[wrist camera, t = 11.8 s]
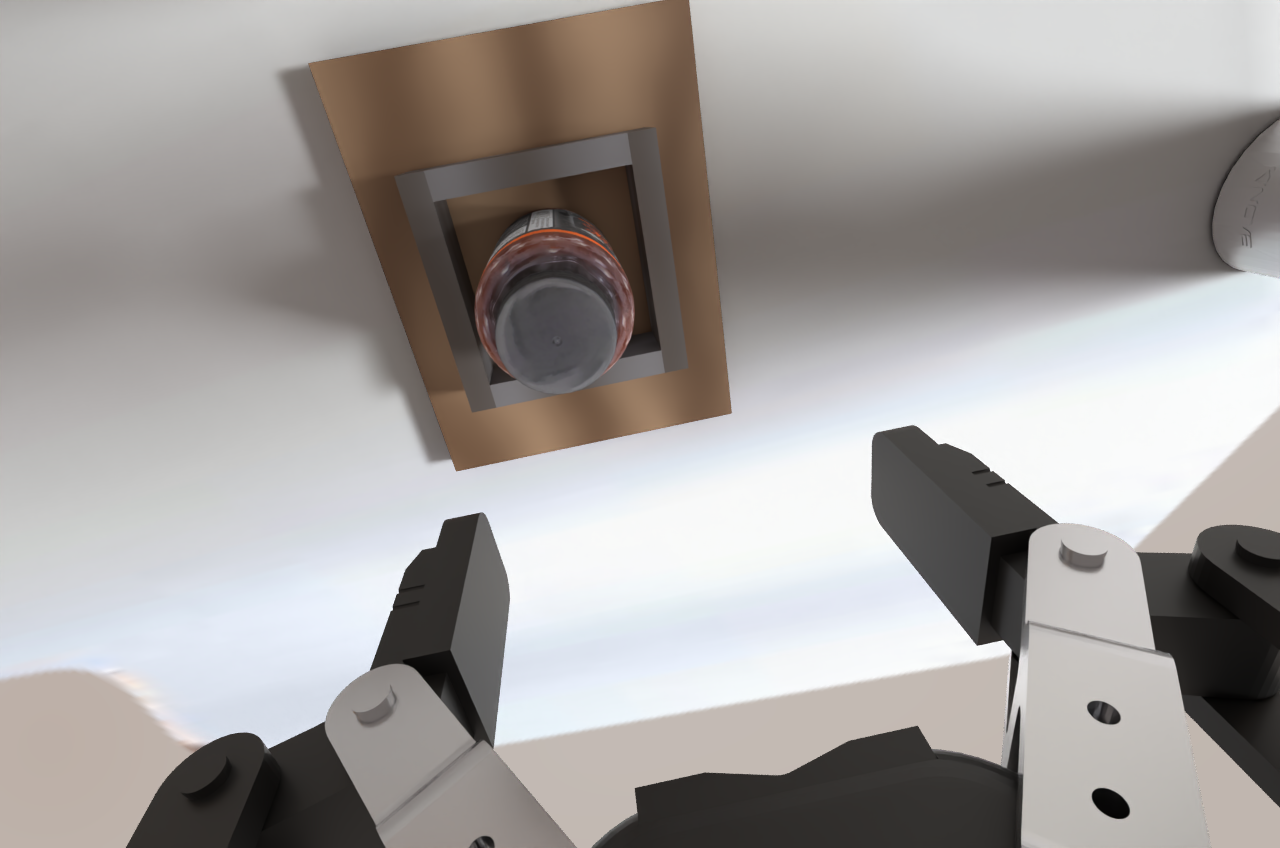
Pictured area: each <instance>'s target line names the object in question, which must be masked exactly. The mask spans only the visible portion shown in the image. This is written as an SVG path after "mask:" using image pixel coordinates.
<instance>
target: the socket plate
mask: <svg viewBox="0 0 1280 848" xmlns="http://www.w3.org/2000/svg"><path fill="white" fill-rule="evenodd" d="M308 64H309V67H310V69H311V72H312V75H313V78H314V80H315V83H316V86H317V89H318V91H319V94H320V97H321V100H322V102H323V105H324V108H325V111H326V113H327V116H328V119H329V122H330V125H331V127H332V130H333V133H334V136H335V138H336V141H337V144H338V147H339V149H340V152H341V155H342V158H343V160H344V163H345V166H346V169H347V171H348V174H349V177H350V180H351V182H352V185H353V188H354V191H355V194H356V196H357V199H358V202H359V205H360V207H361V210H362V213H363V216H364V218H365V221H366V224H367V227H368V229H369V232H370V235H371V238H372V240H373V243H374V246H375V249H376V251H377V254H378V257H379V260H380V263H381V265H382V268H383V271H384V274H385V276H386V279H387V282H388V285H389V287H390V290H391V293H392V296H393V298H394V301H395V304H396V307H397V309H398V312H399V315H400V318H401V320H402V323H403V326H404V329H405V332H406V334H407V337H408V340H409V343H410V345H411V348H412V351H413V354H414V356H415V359H416V362H417V365H418V367H419V370H420V373H421V376H422V378H423V381H424V384H425V387H426V389H427V392H428V395H429V398H430V401H431V403H432V406H433V409H434V412H435V414H436V417H437V420H438V423H439V425H440V428H441V431H442V434H443V436H444V439H445V442H446V445H447V447H448V450H449V453H450V456H451V458H452V461H453V464H454V467H455V470H456V471H461V470H465V469H470V468H475V467H480V466H484V465H489V464H494V463H499V462H503V461H508V460H513V459H518V458H522V457H527V456H532V455H537V454H541V453H546V452H551V451H556V450H560V449H565V448H570V447H575V446H579V445H584V444H589V443H594V442H598V441H603V440H608V439H613V438H617V437H622V436H627V435H632V434H636V433H641V432H646V431H651V430H655V429H660V428H665V427H670V426H674V425H679V424H684V423H688V422H693V421H698V420H703V419H707V418H712V417H717V416H722V415H726V414H731V413H732V411H731V402H730V392H729V382H728V373H727V363H726V353H725V344H724V334H723V324H722V315H721V305H720V295H719V286H718V276H717V266H716V257H715V247H714V237H713V228H712V218H711V209H710V199H709V189H708V180H707V170H706V160H705V151H704V141H703V131H702V122H701V112H700V102H699V93H698V83H697V73H696V64H695V54H694V44H693V35H692V25H691V15H690V6H689V0H663V1H657V2H652V3H646V4H640V5H635V6H629V7H623V8H618V9H612V10H607V11H601V12H595V13H590V14H584V15H578V16H573V17H567V18H561V19H556V20H550V21H544V22H539V23H533V24H528V25H522V26H516V27H511V28H505V29H499V30H494V31H488V32H482V33H477V34H471V35H466V36H460V37H454V38H449V39H443V40H437V41H432V42H426V43H420V44H415V45H409V46H403V47H398V48H392V49H387V50H381V51H375V52H370V53H364V54H358V55H353V56H347V57H341V58H336V59H330V60H324V61H319V62H313V63H308ZM545 208H559V209H566V210H569V211H571V212H574V213H577V214H579V215H581V216H582V217H584V218H586V219H587V220H588V221H590V222H591V223H593V224H594V225H595V226H596V227H597V228H598V229H599V230H600V231H601V232H602V233H603V235H604V236H605V237H606V239H607V240H608V241H609V243H610V246H611V248H612V250H613V252H614V254H615V256H616V257H617V259H618V261H619V263H620V264H621V266H622V268H623V270H624V272H625V274H626V276H627V278H628V281H629V284H630V287H631V290H632V294H633V298H634V307H635V308H634V309H635V316H634V327H633V332H632V335H631V338H630V341H629V343H628V345H627V347H626V349H625V351H624V352H623V354H622V356H621V357H620V358H619V360H618V361H617V362H616V363H615V364H614V365H613V366H612V368H611V369H609V370H608V371H607V372H606V373H605V374H603V375H602V376H601V377H599V378H598V379H597V380H596V381H594V382H593V383H592V384H590V385H589V386H587V387H585V388H583V389H581V390H578V391H575V392H571V393H565V394H547V393H543V392H539V391H536V390H533V389H531V388H528V387H526V386H525V385H523V384H522V383H520V382H519V381H518V380H516V379H515V378H513V377H511V376H510V375H509V374H507V373H506V372H505V371H503V370H502V369H501V368H500V367H499V366H498V365H497V364H496V363H495V362H494V361H493V359H492V358H491V357H490V355H489V354H488V352H487V351H486V349H485V348H484V346H483V344H482V342H481V339H480V337H479V334H478V331H477V326H476V321H475V311H474V309H475V297H476V291H477V288H478V284H479V282H480V279H481V277H482V274H483V271H484V269H485V267H486V266H487V263H488V261H489V259H490V257H491V255H492V253H493V251H494V248H495V246H496V244H497V242H498V240H499V239H500V237H501V236H502V234H503V233H504V231H505V230H506V229H507V228H508V227H509V226H510V225H511V224H512V223H513V222H514V221H515V220H517V219H518V218H519V217H521V216H523V215H525V214H527V213H529V212H531V211H536V210H539V209H545Z"/></svg>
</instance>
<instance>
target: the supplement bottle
mask: <svg viewBox="0 0 1280 848" xmlns="http://www.w3.org/2000/svg"><path fill="white" fill-rule="evenodd" d="M634 308H635V307H634V298H633V294H632V290H631V287H630V284H629V281H628V278H627V276H626V274H625V272H624V270H623V268H622V266H621V264H620V263H619V261H618V259H617V257H616V256H615V254H614V252H613V250H612V248H611V246H610V243H609V241H608V240H607V239H606V237H605V236H604V235H603V233H602V232H601V231H600V230H599V229H598V228H597V227H596V226H595V225H594V224H593V223H591V222H590V221H588V220H587V219H586V218H584V217H582V216H581V215H579V214H577V213H574V212H571V211H569V210H566V209H559V208H545V209H539V210H536V211H531V212H529V213H527V214H525V215H523V216H521V217H519V218H518V219H517V220H515V221H514V222H513V223H512V224H511V225H510V226H509V227H508V228H507V229H506V230H505V231H504V233H503V234H502V236H501V237H500V239H499V240H498V242H497V244H496V246H495V248H494V251H493V253H492V255H491V257H490V259H489V261H488V263H487V266H486V267H485V269H484V271H483V274H482V277H481V279H480V282H479V284H478V288H477V291H476V297H475V309H474V311H475V321H476V326H477V331H478V334H479V337H480V339H481V342H482V344H483V346H484V348H485V349H486V351H487V352H488V354H489V355H490V357H491V358H492V359H493V361H494V362H495V363H496V364H497V365H498V366H499V367H500V368H501V369H502V370H503V371H505V372H506V373H507V374H509V375H510V376H511V377H513V378H515V379H516V380H518V381H519V382H520V383H522V384H523V385H525V386H526V387H528V388H531V389H533V390H536V391H539V392H543V393H547V394H565V393H571V392H575V391H578V390H581V389H583V388H585V387H587V386H589V385H590V384H592V383H593V382H594V381H596V380H597V379H598V378H599V377H601V376H602V375H603V374H605V373H606V372H607V371H608V370H609V369H611V368H612V366H613V365H614V364H615V363H616V362H617V361H618V360H619V358H620V357H621V356H622V354H623V352H624V351H625V349H626V347H627V345H628V343H629V341H630V338H631V335H632V332H633V327H634V316H635V309H634Z"/></svg>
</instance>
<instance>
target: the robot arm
mask: <svg viewBox="0 0 1280 848" xmlns="http://www.w3.org/2000/svg"><path fill="white" fill-rule="evenodd" d="M1212 228H1213V241H1214V244H1215V247H1216V251H1217V252H1218V254H1219V255H1220V257H1221V258H1222V260H1223V261H1224V262H1226V263H1227V264H1228V265H1230V266H1231V267H1233V268H1236V269H1239V270H1243V271H1246V272H1251V273H1256V274H1261V275H1265V276H1270V277H1275V278H1280V119H1279V120H1277V121H1276V122H1275V123H1273V124H1272V125H1271V126H1270V127H1269V128H1267V129H1266V130H1265V131H1264V132H1263V133H1261V134H1260V135H1259V136H1258V137H1257V138H1256V139H1255V140H1254V142H1253V143H1252V144H1251V145H1250V146H1249V147H1248V148H1247V149H1246V150H1245V151H1244V153H1243V154H1242V156H1241V157H1240V158H1239V160H1238V161H1237V163H1236V164H1235V165H1234V167H1233V168H1232V170H1231V172H1230V173H1229V175H1228V177H1227V179H1226V181H1225V183H1224V185H1223V187H1222V189H1221V192H1220V194H1219V197H1218V200H1217V203H1216V206H1215V211H1214V216H1213V222H1212ZM871 498H872V505H873V509H874V512H875V515H876V517H877V519H878V521H879V523H880V525H881V526H882V527H883V529H884V530H885V531H886V532H887V534H888V535H889V536H890V537H891V539H892V540H893V541H894V542H895V544H896V545H897V546H898V547H899V549H900V550H901V551H902V552H903V554H904V555H905V556H906V557H907V559H908V560H909V561H910V562H911V564H912V565H913V566H914V567H915V569H916V570H917V571H918V572H919V574H920V575H921V576H922V577H923V579H924V580H925V581H926V582H927V584H928V585H929V586H930V587H931V589H932V590H933V591H934V592H935V594H936V595H937V596H938V597H939V599H940V600H941V601H942V602H943V604H944V605H945V606H946V607H947V609H948V610H949V611H950V612H951V614H952V615H953V616H954V617H955V619H956V620H957V621H958V622H959V624H960V625H961V626H962V627H963V629H964V630H965V631H966V632H967V634H968V635H969V636H970V637H971V639H972V640H973V641H974V642H975V644H976V645H977V646H978V645H983V644H988V643H992V642H997V641H1001V640H1004V641H1005V643H1006V644H1007V645H1008V646H1009V647H1010V648H1011V652H1010V658H1009V665H1008V679H1007V693H1006V707H1005V722H1004V736H1003V750H1002V760H1001V766H1000V765H998V764H995V763H993V762H990V761H987V760H984V759H981V758H979V757H974V756H971V755H967V754H963V753H959V752H953V751H946V750H937V749H931V747H930V746H929V744H928V742H927V741H926V739H925V737H924V736H923V734H922V732H921V731H920V729H919V727H918V726H915V727H910V728H905V729H901V730H897V731H892V732H887V733H883V734H878V735H874V736H870V737H865V738H860V739H856V740H851V741H848V742H846V743H844V744H842V745H840V746H839V747H837V748H835V749H833V750H831V751H829V752H827V753H826V754H824V755H822V756H820V757H818V758H816V759H814V760H812V761H811V762H809V763H807V764H805V765H803V766H801V767H800V768H798V769H796V770H794V771H792V772H790V773H787V774H785V775H778V776H777V775H776V776H775V775H751V774H725V773H702V774H697V775H692V776H688V777H683V778H679V779H674V780H670V781H665V782H660V783H656V784H651V785H647V786H642V787H638V788H635V794H636V803H637V812H638V813H636V814H634V815H633V816H631V817H629V818H627V819H626V820H624V821H623V822H621V823H620V824H618V825H617V826H616V827H614V828H613V829H611V830H610V831H609V832H608V833H607V834H605V835H604V836H603V837H602V838H601V839H600V840H599V841H598V842H596V843H595V844H594V845H593V847H592V848H1211V844H1210V839H1209V834H1208V829H1207V824H1206V819H1205V813H1204V809H1203V803H1202V798H1201V793H1200V788H1199V782H1198V777H1197V772H1196V767H1195V762H1194V757H1193V752H1192V747H1191V742H1190V737H1189V731H1188V726H1187V721H1186V716H1185V711H1186V713H1187V714H1188V715H1189V716H1190V717H1191V718H1192V719H1194V721H1195V722H1196V723H1197V724H1198V725H1199V726H1200V727H1201V728H1202V729H1203V730H1204V731H1205V732H1206V733H1207V734H1208V735H1209V736H1210V737H1211V738H1212V739H1213V740H1214V741H1215V742H1216V743H1217V744H1218V745H1219V746H1220V747H1221V748H1222V749H1223V750H1224V751H1225V752H1226V753H1227V754H1228V755H1229V756H1230V757H1231V758H1232V759H1233V760H1234V761H1235V762H1236V763H1237V764H1238V765H1239V767H1240V768H1242V770H1244V772H1245V773H1246V774H1248V776H1250V778H1251V779H1252V780H1253V781H1254V782H1255V783H1256V784H1257V785H1258V786H1259V787H1260V788H1261V789H1262V790H1263V791H1264V792H1265V793H1266V794H1267V795H1268V796H1269V797H1270V798H1271V799H1272V800H1273V801H1274V802H1275V803H1276V804H1277V805H1278V806H1279V807H1280V533H1277V532H1274V531H1270V530H1266V529H1262V528H1257V527H1251V526H1243V525H1222V526H1215V527H1211V528H1208V529H1206V530H1204V531H1203V532H1201V533H1200V534H1199V536H1198V538H1197V541H1196V544H1195V547H1194V550H1193V553H1192V554H1186V553H1139V552H1136V551H1135V550H1134V549H1133V548H1132V547H1131V546H1130V545H1129V544H1127V543H1126V542H1125V541H1123V540H1122V539H1120V538H1118V537H1117V536H1115V535H1113V534H1110V533H1108V532H1106V531H1103V530H1100V529H1097V528H1094V527H1090V526H1085V525H1080V524H1069V523H1061V524H1059V523H1058V522H1056V521H1055V520H1054V519H1052V518H1051V517H1050V516H1049V515H1047V514H1046V513H1045V512H1044V511H1042V510H1041V509H1040V508H1039V507H1037V506H1036V505H1035V504H1034V503H1032V502H1031V501H1030V500H1029V499H1027V498H1026V497H1025V496H1024V495H1022V494H1021V493H1020V492H1019V491H1017V490H1016V489H1015V488H1014V487H1012V486H1011V485H1010V484H1009V483H1008V484H1006V483H1005V480H1004V479H1002V478H1001V477H1000V476H999V475H997V474H996V473H995V472H994V471H992V472H991V471H990V468H989V467H987V466H986V465H985V464H984V463H982V462H981V461H980V460H979V459H977V458H976V457H975V456H974V455H972V454H971V453H968V452H966V451H963V450H961V449H958V448H956V447H953V446H951V445H949V444H946V443H945V444H940V445H938V444H937V443H936V442H935V441H934V440H932V439H931V438H930V437H929V436H928V435H927V434H925V433H924V432H923V431H922V430H921V429H919V428H918V427H917V426H914V425H911V426H906V427H901V428H897V429H892V430H887V431H882V432H877V433H876V434H875V435H874V437H873V441H872V483H871ZM509 603H510V593H509V584H508V578H507V574H506V571H505V568H504V565H503V562H502V559H501V556H500V553H499V550H498V548H497V545H496V542H495V539H494V536H493V533H492V530H491V527H490V525H489V522H488V519H487V517H486V516H485V514H484V513H477V514H472V515H467V516H462V517H457V518H452V519H447V520H445V521H444V523H443V526H442V529H441V532H440V536H439V539H438V542H437V546H436V547H435V548H430V549H425V550H422V551H421V552H420V553H419V555H418V556H417V557H416V558H415V559H414V560H413V562H412V563H411V564H410V565H409V566H408V567H407V569H406V570H405V573H404V576H403V578H402V581H401V584H400V587H399V594H397V595H396V598H395V601H394V604H393V611H391V612H390V615H389V618H388V621H387V624H386V626H385V629H384V632H383V635H382V638H381V641H380V643H379V646H378V649H377V652H376V655H375V658H374V660H373V663H372V666H371V669H370V671H369V672H367V673H365V674H363V675H361V676H360V677H358V678H357V679H355V680H354V681H353V682H351V683H350V684H349V685H348V686H347V687H346V688H345V689H344V690H343V691H342V692H341V693H340V694H339V695H338V696H337V698H336V699H335V700H334V702H333V703H332V705H331V707H330V709H329V711H328V713H327V716H326V721H325V722H323V723H321V724H319V725H317V726H315V727H314V728H311V729H309V730H307V731H305V732H303V733H301V734H299V735H297V736H295V737H293V738H290V739H288V740H286V741H284V742H282V743H280V744H278V745H276V746H274V747H271V748H269V749H267V747H266V746H265V744H264V743H263V741H262V740H261V739H260V738H259V737H258V736H256V735H254V734H252V733H235V734H230V735H227V736H224V737H221V738H219V739H217V740H214V741H212V742H210V743H209V744H207V745H205V746H203V747H202V748H200V749H199V750H197V751H196V752H194V753H193V754H192V755H190V756H189V757H188V758H186V759H185V760H184V761H183V762H182V763H181V764H180V765H179V766H177V767H176V768H175V770H174V771H173V772H172V773H171V774H170V775H169V776H168V777H167V778H166V780H165V781H164V782H163V783H162V785H161V786H160V788H159V789H158V791H157V793H156V794H155V796H154V798H153V800H152V802H151V803H150V805H149V807H148V809H147V811H146V812H145V814H144V816H143V818H142V820H141V821H140V823H139V825H138V827H137V829H136V830H135V832H134V834H133V836H132V838H131V840H130V841H129V843H128V845H127V847H126V848H577V847H576V846H575V845H574V844H573V843H572V841H571V840H570V839H569V838H568V837H567V836H566V834H565V833H564V832H563V831H562V830H561V828H560V827H559V826H558V825H557V824H556V823H555V821H554V820H553V819H552V818H551V817H550V816H549V814H548V813H547V812H546V811H545V810H544V809H543V807H542V806H541V805H540V804H539V803H538V801H537V800H536V799H535V798H534V797H533V796H532V794H531V793H530V792H529V791H528V790H527V788H526V787H525V786H524V785H523V784H522V783H521V781H520V780H519V779H518V778H517V777H516V776H515V774H514V773H513V772H512V771H511V770H510V768H509V767H508V766H507V765H506V764H505V763H504V762H503V760H502V759H501V758H500V757H499V756H498V754H497V753H496V752H495V751H494V750H493V748H494V739H495V730H496V721H497V712H498V703H499V694H500V685H501V676H502V667H503V658H504V649H505V640H506V631H507V621H508V612H509Z"/></svg>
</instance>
